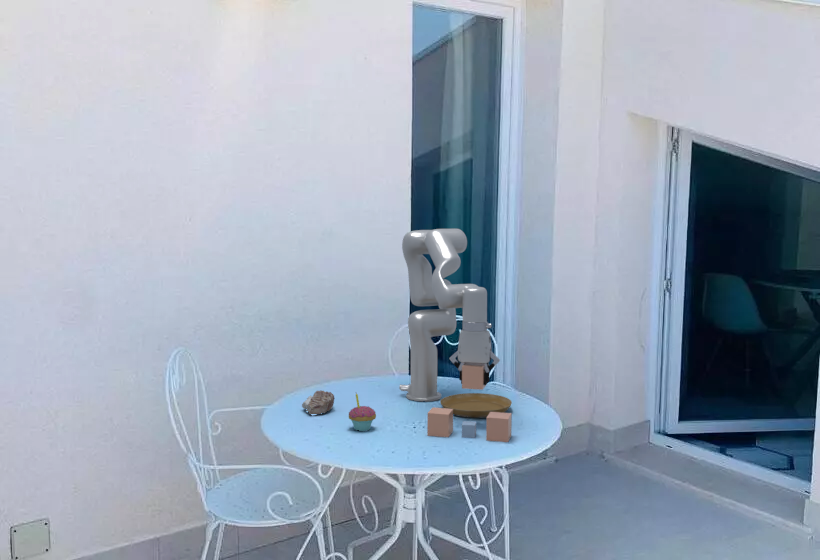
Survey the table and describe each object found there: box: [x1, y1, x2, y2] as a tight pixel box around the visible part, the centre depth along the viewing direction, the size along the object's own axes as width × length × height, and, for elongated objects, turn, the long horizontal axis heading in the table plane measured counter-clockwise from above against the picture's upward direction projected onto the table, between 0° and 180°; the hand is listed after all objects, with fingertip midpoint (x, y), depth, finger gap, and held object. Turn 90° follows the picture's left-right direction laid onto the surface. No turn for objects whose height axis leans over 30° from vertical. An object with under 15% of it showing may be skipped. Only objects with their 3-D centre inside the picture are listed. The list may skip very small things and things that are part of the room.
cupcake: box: [348, 392, 377, 432], centre depth 245 cm, size 9×8×12 cm
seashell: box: [301, 390, 335, 415], centre depth 266 cm, size 14×9×10 cm
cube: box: [461, 420, 477, 439], centre depth 239 cm, size 4×4×4 cm
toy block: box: [461, 363, 487, 391], centre depth 246 cm, size 6×6×7 cm
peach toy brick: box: [426, 406, 454, 438], centre depth 241 cm, size 6×6×7 cm
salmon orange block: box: [485, 412, 513, 443], centre depth 236 cm, size 6×6×7 cm
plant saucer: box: [439, 392, 513, 419], centre depth 267 cm, size 24×24×3 cm
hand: (474, 383), depth 246 cm, fingers closed on toy block, 6 cm apart
